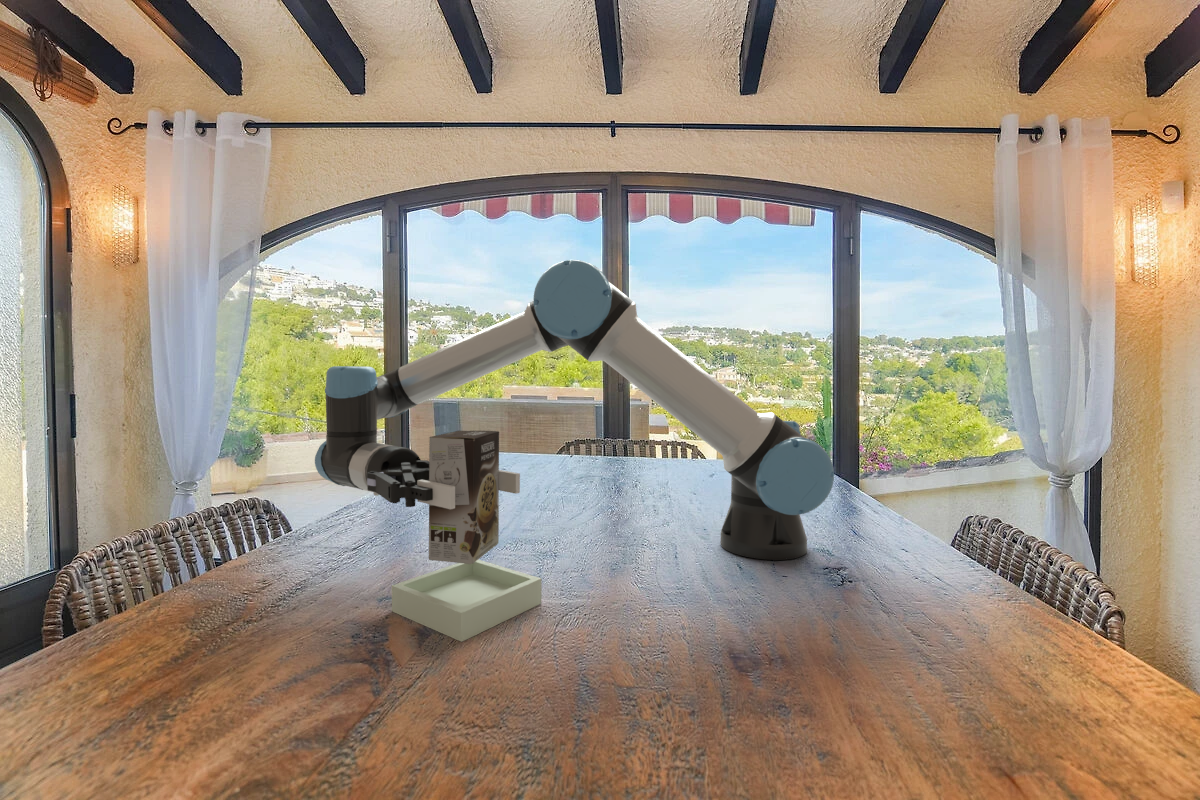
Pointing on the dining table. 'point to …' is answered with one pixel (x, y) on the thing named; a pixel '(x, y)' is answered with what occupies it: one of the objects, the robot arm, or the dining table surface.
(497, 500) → the coffee box
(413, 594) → the tray
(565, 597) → the dining table surface
